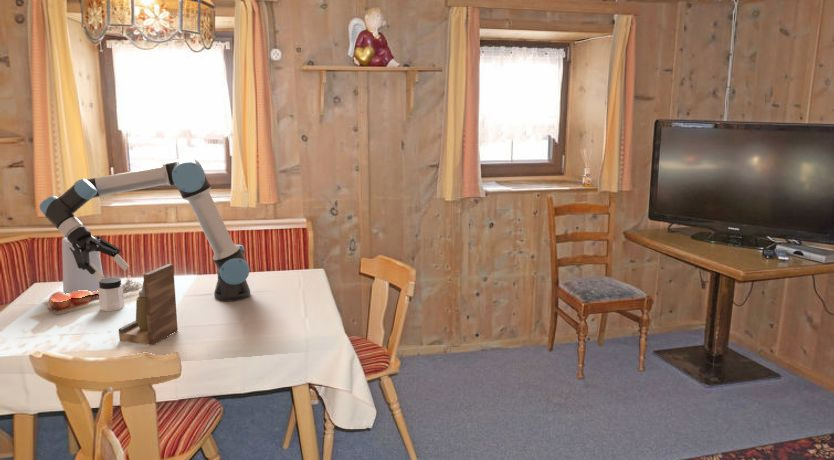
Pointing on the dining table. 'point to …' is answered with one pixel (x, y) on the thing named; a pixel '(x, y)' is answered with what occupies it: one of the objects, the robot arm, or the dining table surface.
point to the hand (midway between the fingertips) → (114, 273)
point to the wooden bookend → (155, 309)
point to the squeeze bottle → (141, 310)
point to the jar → (111, 294)
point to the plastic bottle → (78, 270)
